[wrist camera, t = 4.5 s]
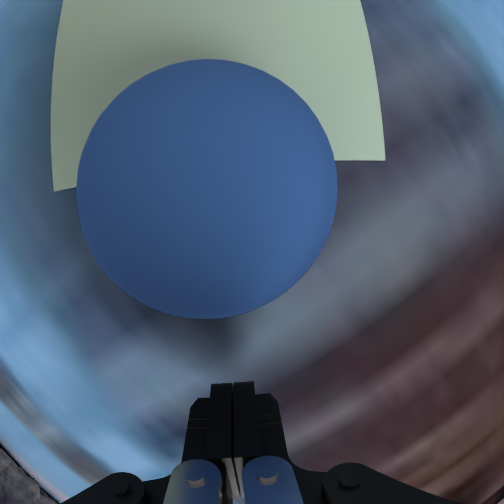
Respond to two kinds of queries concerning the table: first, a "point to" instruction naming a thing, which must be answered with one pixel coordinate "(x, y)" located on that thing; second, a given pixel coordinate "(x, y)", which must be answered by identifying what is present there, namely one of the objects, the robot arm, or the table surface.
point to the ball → (206, 189)
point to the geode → (19, 485)
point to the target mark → (215, 47)
